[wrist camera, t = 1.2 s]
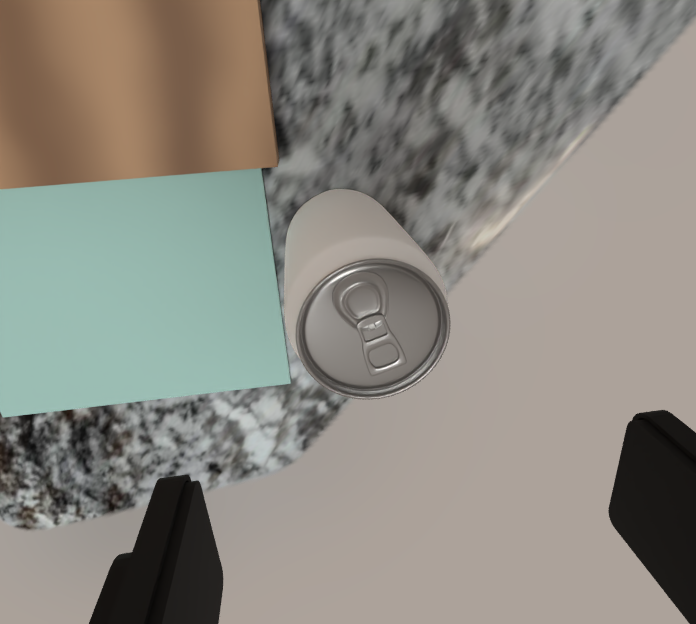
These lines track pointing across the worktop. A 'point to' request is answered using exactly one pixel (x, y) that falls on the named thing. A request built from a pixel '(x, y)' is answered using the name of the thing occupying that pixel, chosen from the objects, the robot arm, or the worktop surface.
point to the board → (132, 90)
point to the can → (361, 298)
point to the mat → (137, 291)
